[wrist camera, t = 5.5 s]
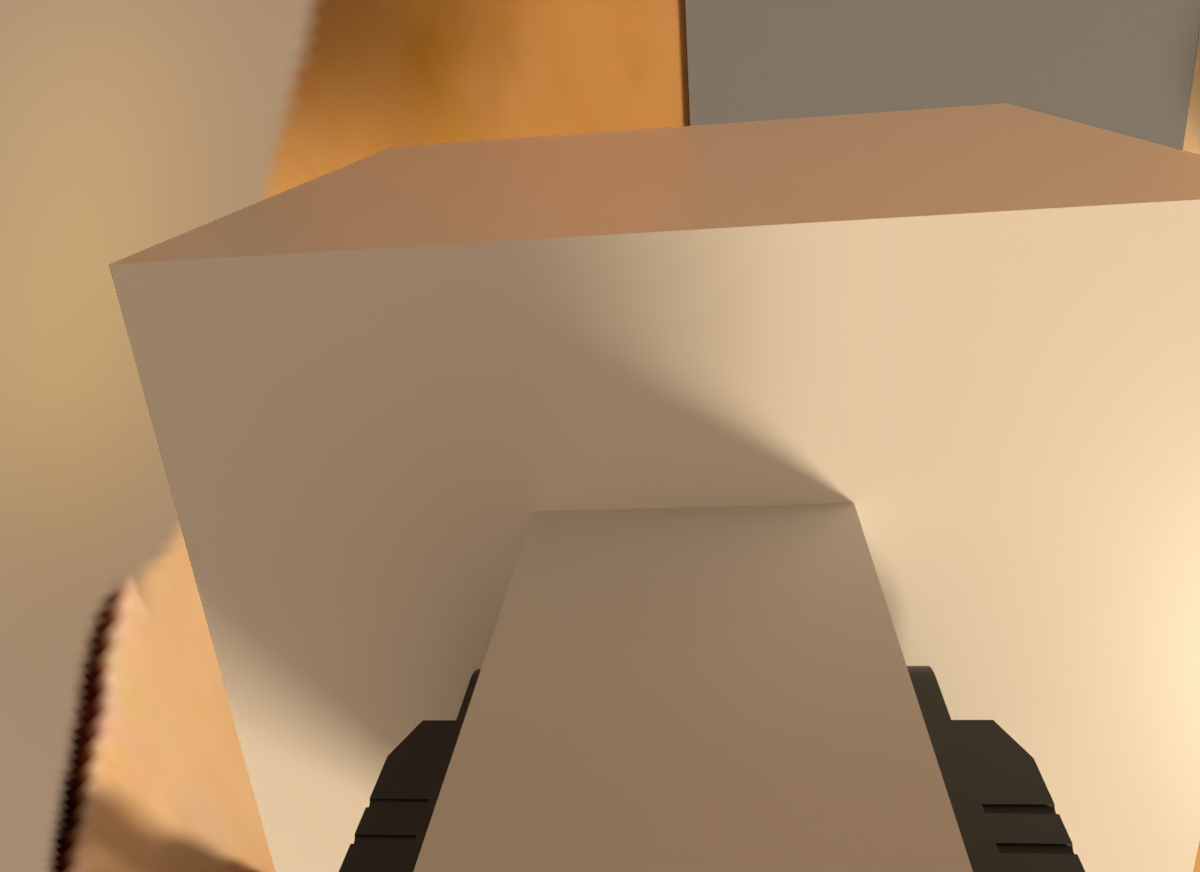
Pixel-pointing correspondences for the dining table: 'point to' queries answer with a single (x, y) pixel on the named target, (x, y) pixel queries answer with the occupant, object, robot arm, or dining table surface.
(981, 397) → the cream plinth with post
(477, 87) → the dining table surface
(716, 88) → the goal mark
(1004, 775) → the robot arm
